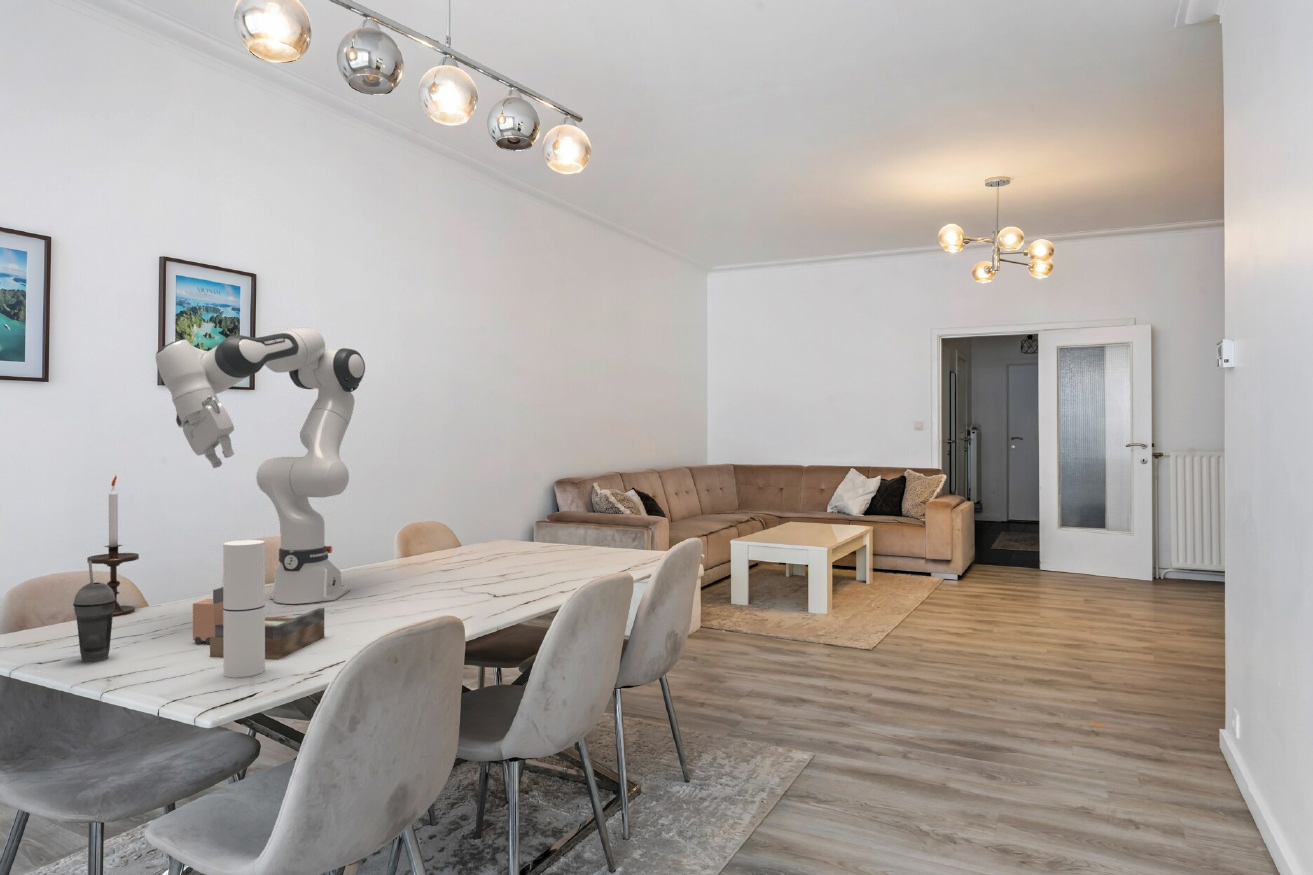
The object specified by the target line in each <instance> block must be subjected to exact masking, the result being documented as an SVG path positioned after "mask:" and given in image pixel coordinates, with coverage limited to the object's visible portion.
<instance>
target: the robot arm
mask: <svg viewBox="0 0 1313 875" xmlns="http://www.w3.org/2000/svg"><path fill="white" fill-rule="evenodd" d="M155 362H156V366H157V369H158V372H159V375H160V377H161V379H162V382H163V383H164V386H165V387H166V388H167V389H168V391H169V392H170V395H171V400H172V403H173V406H174V407H175V411H176V418H175V421H176V425H177V427H179V429H180V428H182V432H183V435H184V437H185V439H186V442H187V443H188V444H189V446H190V448H191V449H192V451H193V452H194V454H195V455H196V456H203V455H204V457H205V458H206V459H207V460H208V461H209V462H210V464H211V466H212V468H213V469H217V468H220V467H221V466H222V465H223V462H222V460H221V458H220V457H219V456H218V455H217V454H216V452H217V451H216V448H217V447H218V446H219V445H220V447H221V450H222V451H221V452H222V455H223V457H224V458H226V459H229V458H231V457H232V456H234V455H235V452H234V449H233V447H232V440H231V437H230V435H231V434H232V433H233V432H234V431H235V426H234V423H233V421H232V419H231V417H230V415H229V413H228V411H227V410H226V408H225V406H224V405H223V404H222V403H221V402H220V400H219V398H218V396H217V394H220V393H223V392H225V391H226V390H228V389H230V388H231V387H234V386H235V385H236V384H238V383H240V382H242V381H244V380H245V379H246V378H249V377H251V376H252V375H255V374H257V373H258V372H259V371H260V370H261V369H262V368H263V367H264V366H265V367H266V368H267V369H269V370H270V371H272V372H274V373H288V374H289V378H290V380H291V381H292V382H293V384H294V385H295V386H296V387H297V388H299V389H303V390H315V389H317V391H318V392H317V399H316V400H315V402H314V404H313V405H312V406H311V409H310V411H309V412H308V414H307V416H306V419H305V421H304V424H303V425H302V427H301V429H300V431H299V439H300V442H301V444H302V445H303V447H305V449H306V450H307V453H306V454H305V455H304V456H279V457H274V458H270V459H267V460H264V461H262V463H261V464H260V465H259V466H258V469H257V471H256V476H255V477H256V478H255V479H256V484H257V486H258V488H259V489H260V491H261V492H263V493H264V494H265V495H266V496H267V497H268V498H269V499H270V501H271V503H272V504H273V505H274V507H275V510H276V512H277V516H278V520H279V528H280V529H279V530H280V533H279V534H280V548H279V549H278V562H279V565H278V566H277V567H276V568H275V573H274V580H273V581H274V584H273V593H270V594H269V599H271V600H273V601H274V602H275V603H278V604H286V605H290V604H291V605H292V604H293V605H295V604H311V603H312V604H313V603H318V602H327V601H336V600H338V598H340V597H342V596H344V595H345V594H346V593H348V592H349V591H351V587H350V586H349V585H342V574H341V571H340V569H339V568H337V567H336V566H335V564H334V563H332V562H331V561H330V560H329V555H328V554H332V552H333V546H332V545H325V529H326V528H325V519H324V517H323V516H322V515H321V514H320V513H319V512H318V511H316V510H315V509H314V508H313V507H312V506H311V503H310V500H309V498H328V497H334V496H338V495H340V494H342V493H343V492H344V491H345V490H346V488H347V486H348V484H349V481H350V475H349V473H350V472H349V470H348V468H347V466H346V464H345V463H344V462H343V461H342V460H341V457H340V448H341V445H342V442H343V440H344V437H345V434H346V432H347V429H348V427H349V425H350V422H351V420H352V416H353V413H354V412H353V411H354V408H355V407H354V406H355V401H356V400H355V397H354V395H353V393H352V392H354V391H356V390H357V389H358V388H359V386H360V383H361V382H362V380H363V378H364V375H365V372H366V364H365V361H364V358H363V357H362V355H361V354H360V352H359V351H357V350H355V349H353V348H345V347H344V348H343V347H342V348H340V349H339V348H329V349H326V342H325V339H324V337H323V335H322V334H321V333H320V332H319V331H318V330H316V329H315V328H312V327H291V328H287V329H283V330H279V331H275V332H273V333H271V334H269V335H266V336H260V337H251V336H246V335H241V334H233V335H230V336H228V337H226V338H225V339H224V340H222V341H221V342H220V343H219V344H217V345H215V346H214V347H213V348H211V349H209V350H204V349H200V348H197V347H196V346H194V345H192V344H191V343H190V342H189V341H188V339H178V340H174V341H172V342H170V343H168V344H166V345H164V346H162V347H161V348H159V349H158V350H157V351H156V352H155Z"/></svg>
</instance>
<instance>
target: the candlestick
mask: <svg viewBox="0 0 1313 875" xmlns="http://www.w3.org/2000/svg"><path fill="white" fill-rule="evenodd" d="M117 478H118V477H117V474H115V476H114V477H113V479H112V482H111V489H110V492H108V545H105V546H104V545H103V547H104V548H108V550H107V551H108V553H103V554H96V555H91V556H88V557H87V559H86V560H87V561H86V562H87V564H89V563H88V561H91V563H92V564H93V565H94V564H96V565H102V564H103V565H105V566H106V567H109V570H110V572H109V573H110V574H109V576H110V577H109V578H110V580H109V581H107V583H106V585H108V586H109V587H110V588H111V589H112V590H113V592H114V594H115V599H116V602H115V608H114V612H113V617H121V615H122V616H126V615H130V614H133V613H135V612H136V611H135V610H136V609H135V608H136V607H135V606H134V605H120V604H119V602H118V600H117V599H118V598H117V597H118V596H117V595H119V594H120V591H118V587H120V584H121V581H119V580H117V579H118V578H117V577H118V576H117V575H118V574H117V573H118V572H117V571H118V569H117V567H118V566H120V564H123V563H129V562H134V561H137V560H139V559H140V557H139V556H140V555H139V553H135V552H119V547H122V546H124V545H123V544H119V542H118V540H119V535H118V532H119V530H118V529H119V525H118V524H119V523H118V521H119V516H118V514H119V512H118V511H119V510H118V509H119V508H118V506H119V505H118V504H119V502H118V501H119V500H118V494H119V493H118V492H117V491H116V488H115V485H116V483H117V482H116V480H117Z"/></svg>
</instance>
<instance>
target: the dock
mask: <svg viewBox="0 0 1313 875" xmlns="http://www.w3.org/2000/svg"><path fill="white" fill-rule="evenodd" d="M320 638H321V639H323V638H325V607H318V608H315V609H313V610H311V611H308V612H306V613H304V614H301V615H298V616H296V617H273V616H271V617H269V616H265V660H268V659H269V660H279V659H282V658H284V657H286V656H288V655H290V654H292V653H294V652H297V651H298V650H300V649H302V648H304V647H306V645H307V646H309V645H310V643H311V644H313V643H315V642H317V641H319V640H321V639H320ZM314 641H315V642H314ZM291 652H292V653H291ZM209 657H211V658H212V657H215V658H216V657H217V658H224V642H223V624H217V625H215V635H214V636H211V637H210V645H209ZM281 657H282V658H281Z"/></svg>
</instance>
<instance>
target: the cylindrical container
mask: <svg viewBox="0 0 1313 875" xmlns="http://www.w3.org/2000/svg"><path fill="white" fill-rule="evenodd" d="M222 544H223V548H222V549H223V550H222V551H223V553H222V554H223V556H222V557H223V558H222V560H223V561H222V562H223V563H222V564H223V569H222V570H223V571H222V573H223V576H222V577H223V579H222V580H223V581H222V582H223V583H222V584H223V586H222V587H223V608H224V609H223V642H224V657H223V676H224V677H226V678H233V679H234V678H236V679H240V678H247V677H252V676H256V675H259V673H260V674H262V673H263V671H264V672H265V670H266V659H265V617H266V592H265V591H266V581H265V580H266V566H265V564H266V542H265V540H262V539H261V540H259V539H245V540H242V539H241V540H234V541H233V540H231V541H227V542H224V543H222Z"/></svg>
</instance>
